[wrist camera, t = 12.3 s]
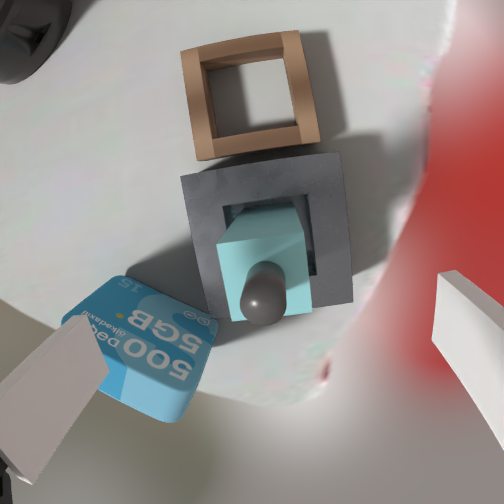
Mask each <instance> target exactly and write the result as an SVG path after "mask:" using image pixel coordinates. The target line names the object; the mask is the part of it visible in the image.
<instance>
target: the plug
mask: <svg viewBox="0 0 504 504" xmlns="http://www.w3.org/2000/svg"><path fill="white" fill-rule="evenodd" d="M216 246H217V251H218V256H219V261H220V266H221V271H222V276H223V281H224V286H225V291H226V296H227V300H228V305H229V310H230V315H231V319H232V321H241V320H248V321H250V322H252V323H254V324H257V325H263V326H264V325H271V324H274V323H276V322H277V321H279V320H280V319H281V318H282V317H283V316H287V315H295V314H303V313H311V312H312V301H311V291H310V282H309V272H308V263H307V254H306V246H305V238H304V231H303V228H302V226H301V223H300V220H299V217H298V215H297V212H296V209H295V206H294V204H293V202H289V203H282V204H275V205H268V206H261V207H254V208H247V209H242V211H241V212H240V213H239V215H238V216H237V217H236V219H235V220H234V221H233V222H232V224H231V225H230V226H229V228H228V229H227V230H226V232H225V233H224V234H223V236H222V237H221V238H220V240H219V241H218V242H217V244H216Z"/></svg>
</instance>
